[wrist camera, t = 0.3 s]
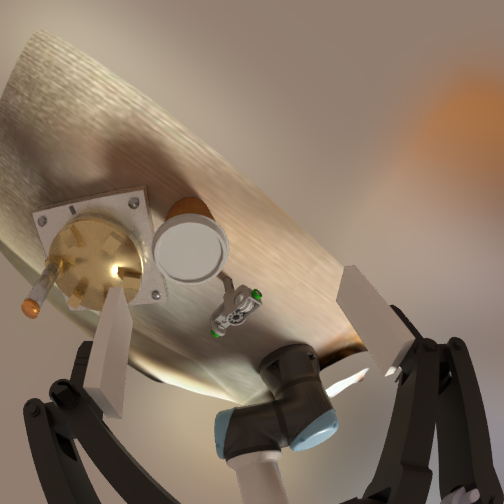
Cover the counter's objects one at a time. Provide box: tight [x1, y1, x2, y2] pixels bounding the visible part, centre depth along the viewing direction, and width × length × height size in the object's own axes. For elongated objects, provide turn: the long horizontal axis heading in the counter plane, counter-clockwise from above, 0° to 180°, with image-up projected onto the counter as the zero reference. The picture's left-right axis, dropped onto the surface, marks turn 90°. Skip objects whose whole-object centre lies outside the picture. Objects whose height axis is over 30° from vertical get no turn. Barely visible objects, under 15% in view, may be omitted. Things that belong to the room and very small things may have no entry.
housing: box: [32, 185, 168, 311], centre depth 40 cm, size 20×20×3 cm
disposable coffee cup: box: [151, 197, 229, 286], centre depth 37 cm, size 10×10×12 cm
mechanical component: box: [210, 277, 262, 337], centre depth 45 cm, size 3×10×10 cm, turn 136°
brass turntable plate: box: [21, 214, 144, 319], centre depth 33 cm, size 16×16×14 cm
